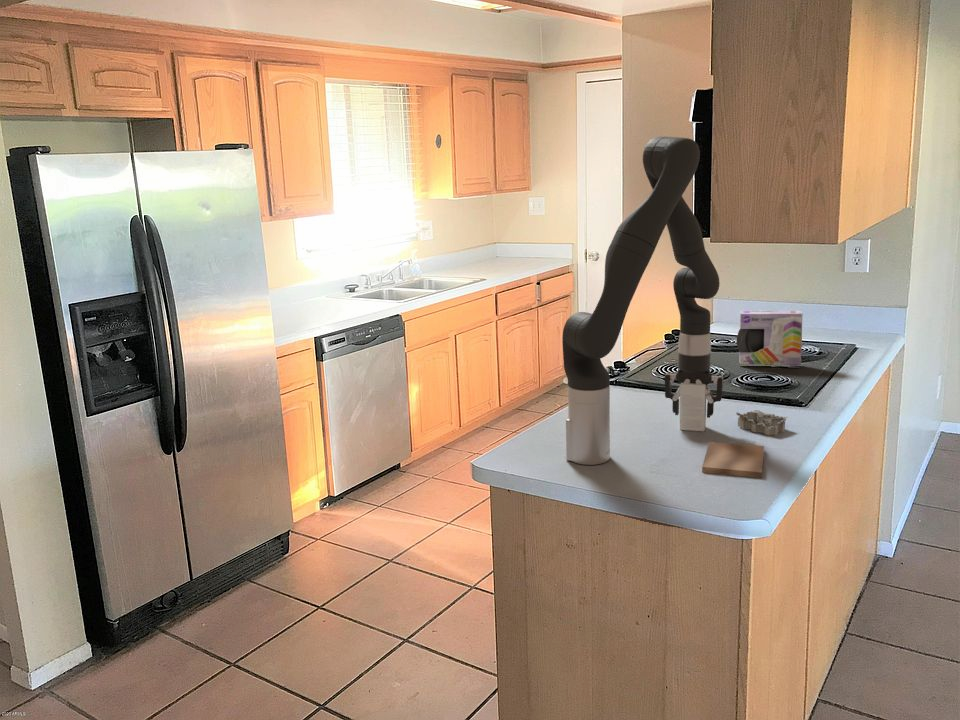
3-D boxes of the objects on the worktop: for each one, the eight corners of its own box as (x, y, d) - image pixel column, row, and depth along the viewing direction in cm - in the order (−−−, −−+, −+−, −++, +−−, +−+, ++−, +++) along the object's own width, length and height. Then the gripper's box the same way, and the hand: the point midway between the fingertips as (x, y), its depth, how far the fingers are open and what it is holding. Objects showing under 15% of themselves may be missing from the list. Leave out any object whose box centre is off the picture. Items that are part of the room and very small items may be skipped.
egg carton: (733, 427, 197) (733, 412, 196) (751, 421, 202) (751, 405, 201) (771, 438, 189) (772, 421, 188) (789, 430, 194) (790, 414, 193)
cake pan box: (735, 367, 251) (737, 312, 247) (735, 363, 256) (737, 308, 251) (801, 369, 245) (804, 312, 241) (799, 365, 250) (802, 309, 246)
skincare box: (705, 426, 198) (707, 380, 195) (704, 432, 194) (705, 385, 192) (680, 424, 200) (681, 378, 197) (679, 430, 197) (680, 383, 194)
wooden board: (702, 472, 170) (702, 466, 170) (708, 446, 185) (709, 441, 185) (761, 477, 166) (761, 472, 166) (763, 451, 181) (764, 446, 180)
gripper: (662, 352, 192) (661, 418, 196) (724, 355, 187) (721, 422, 191) (666, 345, 198) (665, 409, 203) (726, 348, 193) (724, 413, 198)
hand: (692, 415), depth 197 cm, fingers open, 7 cm apart
